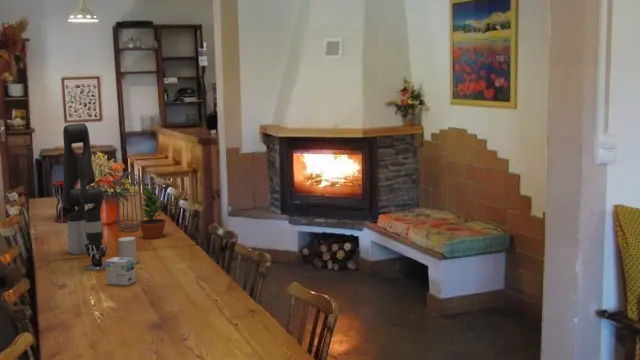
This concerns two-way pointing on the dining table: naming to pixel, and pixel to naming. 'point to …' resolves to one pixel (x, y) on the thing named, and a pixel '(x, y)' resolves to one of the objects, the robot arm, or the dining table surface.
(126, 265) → the light bulb box
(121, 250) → the light grey cylinder
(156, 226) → the potted plant
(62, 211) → the hourglass
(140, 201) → the geometric lantern
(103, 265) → the lid
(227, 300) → the dining table surface
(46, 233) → the dining table surface
